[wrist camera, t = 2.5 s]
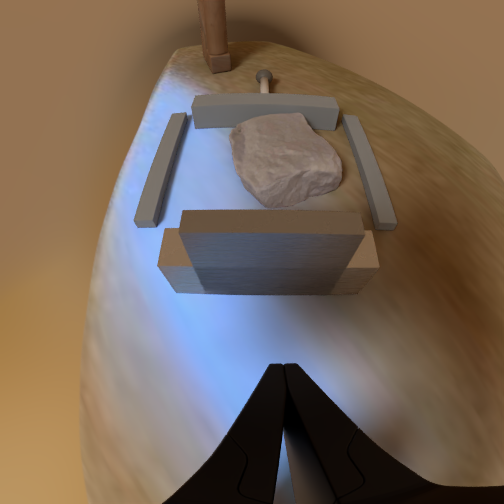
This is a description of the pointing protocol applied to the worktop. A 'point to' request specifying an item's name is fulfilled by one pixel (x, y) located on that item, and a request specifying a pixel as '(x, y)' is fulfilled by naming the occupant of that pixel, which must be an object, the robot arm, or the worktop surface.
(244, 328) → the worktop surface
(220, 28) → the wooden block
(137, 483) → the worktop surface
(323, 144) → the stone block
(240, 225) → the bar
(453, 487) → the robot arm
